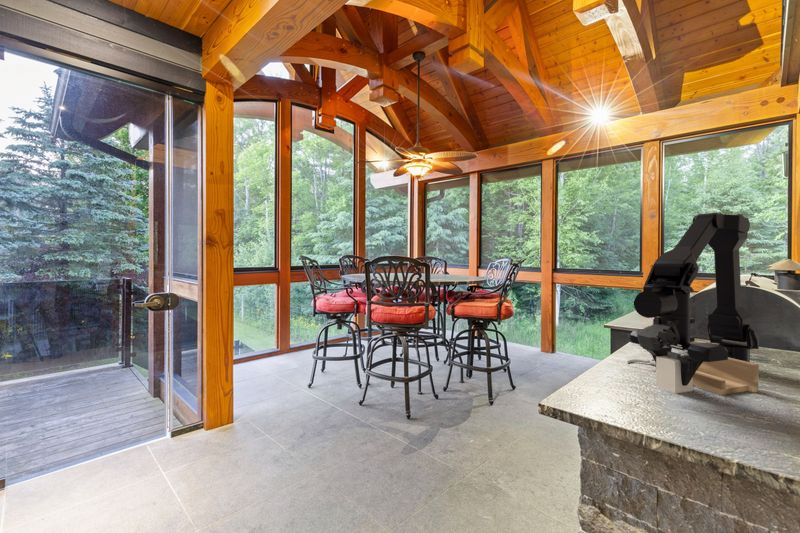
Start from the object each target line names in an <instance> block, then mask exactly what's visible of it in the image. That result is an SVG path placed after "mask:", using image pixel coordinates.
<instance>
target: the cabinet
mask: <svg viewBox="0 0 800 533" xmlns="http://www.w3.org/2000/svg"><path fill="white" fill-rule="evenodd" d="M677 356H682V354H681V353H677V352H675V351H670V352H668V355H666V356H657V357H656V365H655V366H656V367H655V368H656V369H655V370H656V376H655V377H656V378H655V379H656V381H655V382H656V383H655V385H656V386H655V387H657V388H659V389H661V390H665V391H667V392H670V393H673V394H681V393H688V392H693V391H694V386H693V377H692V379H691V380H690V382H689V384H688V385H687V386H683V385H682V380H681V362H680V361H679V359H678V358H677Z"/></svg>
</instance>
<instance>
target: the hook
mask: <svg viewBox="0 0 800 533" xmlns="http://www.w3.org/2000/svg"><path fill="white" fill-rule="evenodd" d="M630 363H644V364H651V365H652V366H656V363H655V360H654V358H653V357H652V358H651V359H648V360H647V359H641V358H631V359H627V360H626V361H625V362H624V365H625V366H627V367H630V368H633V369H639V370H642V369H643V371H647V370H648V372H656V369H649V368H644V367H640V366H639V367H638V366H634V365H631V364H630Z"/></svg>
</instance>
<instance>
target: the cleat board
mask: <svg viewBox="0 0 800 533" xmlns="http://www.w3.org/2000/svg"><path fill="white" fill-rule="evenodd" d="M759 365H760V364H758V363H755V362H754V363H753V362H751V361H750V362H746V361H742V360H738V359H734V358H729V357H728V360H722V361H714V362H703V363H702V364H701V365H700V367H699V368H698V369H697V371H696V372H695V374H694V375H693V387H696V388H699V389H702V390H705V391H707V392H711V393H714V394H717V395H719V396H725V395H729V394H735V393H736V394H737V393H743V392H749V393H759V385H760V384H759V380H760V379H759V375H760V374H759V369H760V368H759Z"/></svg>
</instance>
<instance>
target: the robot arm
mask: <svg viewBox="0 0 800 533" xmlns="http://www.w3.org/2000/svg"><path fill="white" fill-rule="evenodd" d="M750 227H751V225H750V220H749V218H748V217H745V216H744V215H743V214H742V213H736V214H725V213H721V212H719V213H718V212H707V213H698V214H697V215H694V216H693V218H692V223H691V224H690V225H689V227H688V229H687V230H686V231H685V233H684V234H683V235H682V237H681V238H680V239H679V241H678V242H677V244H675V247H674V248H672V249H671V250H668V251H666V252H663V253H662V254H660V256H659V257H658V258H657V259H655V261H654V263H653V264H652V266H651V268H650V270H649V273H648V275H647V276H646V280H645V282H644V285H643V286H642V291H641V292H639V293H638V294H637V295H636V296H635V298H634V300H633V308H634V309H635V311H636V312H637V314H638V315H639V316H641V317H643V318H645V319H653V320H652V325H649V326H646V327H644V328H642V329H640V330H632V331H631V332H630V334H629V343H632V344H636V345H639V346H640V347H641V348H642V349H643V350H645V351H647V352H648V353H649V354H650V355H651V357H652V358H654V360H655V361H654V362H655V363H656V357H657V356H666V355H668V352H670V351H671V352H673V351H672V350H673V349H675V350H678V351H683V355H682V354H681V356H677V358H678V359H679V361H680V362H681V380H682V385H683V386H687V385H688V384H689V382H690V380H691V379H692V377H693V375H694V374H695V372H696V371H697V369H698V368H699V367H700V365H701V364H702V363H703V362H714V361H722V360H728V357H729V358H734V359H738V360H742V361H746V362H750V363H751V361H750V360H751V356H750V355H751V353H750V352H751V350H759V349H760V345H761V342H760V341H761V338H760V336H759V334H758V333H757V330H756V328H755V327H754V326H753V323H752V317H751V315H750V314H749V313H748V312H747V311H746V309H745V308H744V307H743V305H742V287H741V284H742V283H741V263H740V260H741V259H740V248H741V247H742V246H743V245H744V243H745V242H746V241H747V239H748V234H749V231H750V229H751V228H750ZM707 246H709V248H711V250H713V252H714V253H713V254H714V256H713V258H714V273H715V274H714V275H715V276H714V278H715V294H716V307H715V308H714V310H713V311H712V312H711V313H709V314H708V316H707V321H708V323H707V333H708V338H709V342H707V341H706V342H698V343H696V342H695V339H696V338H695V336H692V335H691V324H696V323H695V318H693V317H691V293H693V292H694V288H693V287H692V283H693V282H694V281H695V279H696V278H697V276H698V272H699V270H700V268H699V266H698V263H697V261H698V260H699V257H700V256H701V255H702V253H703V251H704V250H705V249H706V247H707ZM693 342H694V343H693Z"/></svg>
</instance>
